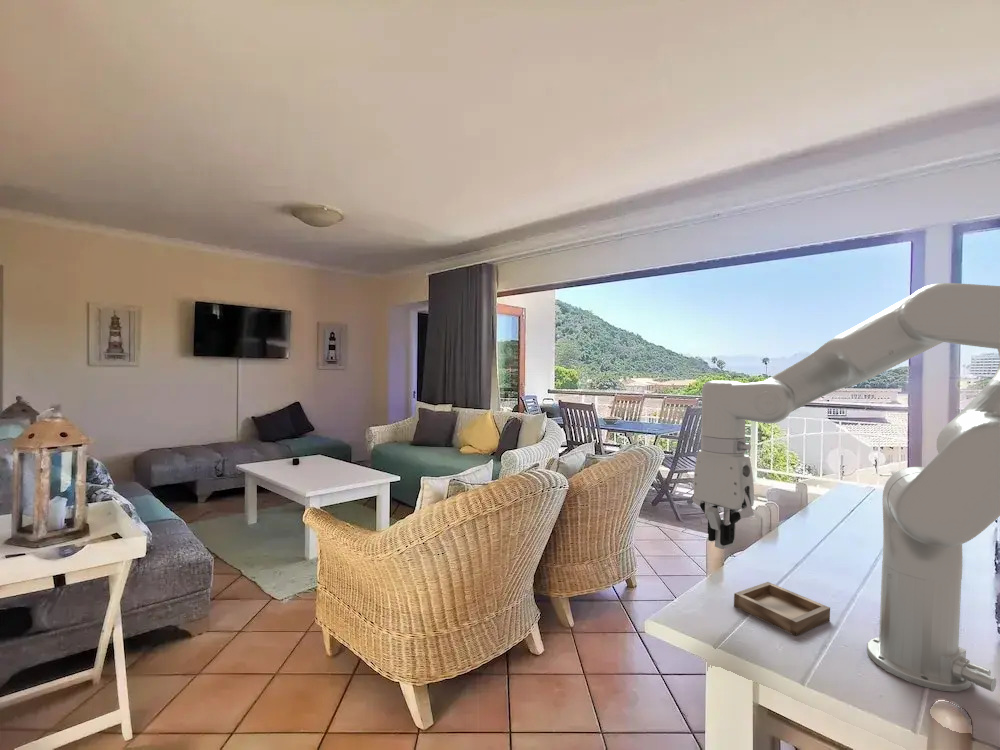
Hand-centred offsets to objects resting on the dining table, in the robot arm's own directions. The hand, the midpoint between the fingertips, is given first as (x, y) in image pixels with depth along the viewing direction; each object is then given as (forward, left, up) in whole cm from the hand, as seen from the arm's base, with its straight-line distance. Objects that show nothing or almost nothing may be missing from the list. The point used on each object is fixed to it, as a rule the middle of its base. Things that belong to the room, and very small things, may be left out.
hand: (720, 541), depth 93 cm
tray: (-6, -11, -14) cm, 18 cm away
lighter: (0, 0, -1) cm, 1 cm away
